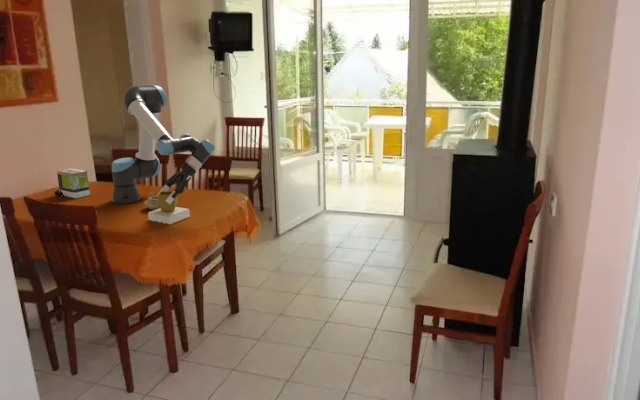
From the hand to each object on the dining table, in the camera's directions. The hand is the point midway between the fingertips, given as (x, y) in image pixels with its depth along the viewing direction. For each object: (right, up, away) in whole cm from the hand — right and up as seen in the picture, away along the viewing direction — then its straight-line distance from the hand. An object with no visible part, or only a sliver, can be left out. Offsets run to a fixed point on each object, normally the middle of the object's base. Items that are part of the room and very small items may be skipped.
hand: (163, 199), depth 249 cm
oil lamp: (-9, -5, +19) cm, 22 cm away
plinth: (+2, -9, +4) cm, 10 cm away
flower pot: (+2, -6, +3) cm, 7 cm away
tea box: (-66, +2, +46) cm, 80 cm away
